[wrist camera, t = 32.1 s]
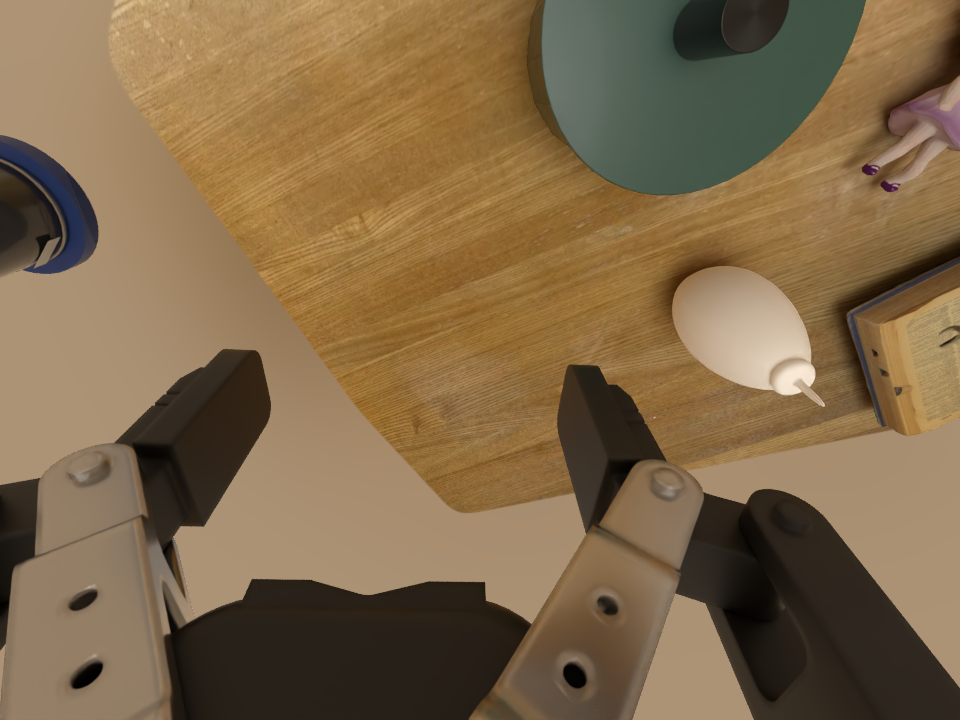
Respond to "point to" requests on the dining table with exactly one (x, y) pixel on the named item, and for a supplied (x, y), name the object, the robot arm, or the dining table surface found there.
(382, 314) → the dining table surface
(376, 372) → the dining table surface
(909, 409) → the book
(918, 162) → the figurine
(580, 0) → the lid
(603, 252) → the dining table surface
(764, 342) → the white rubber bulb blower
